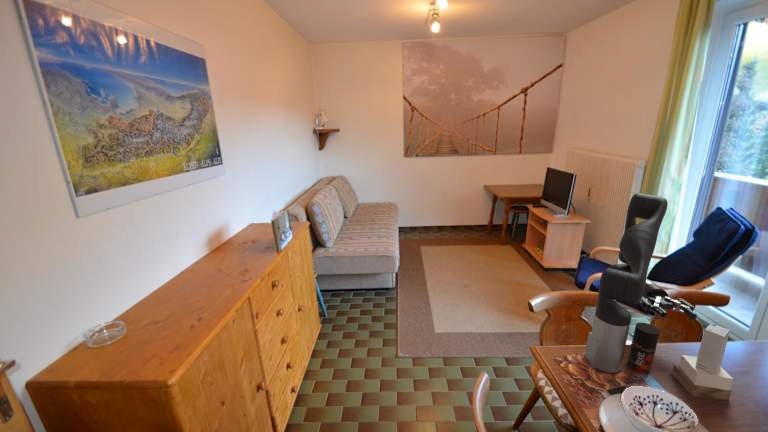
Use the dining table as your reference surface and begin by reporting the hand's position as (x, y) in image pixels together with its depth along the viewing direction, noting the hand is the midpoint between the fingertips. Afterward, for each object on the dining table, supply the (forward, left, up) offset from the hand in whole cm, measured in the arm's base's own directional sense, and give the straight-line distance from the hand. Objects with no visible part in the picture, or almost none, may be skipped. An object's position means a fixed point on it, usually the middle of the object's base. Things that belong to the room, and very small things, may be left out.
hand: (680, 316), depth 105 cm
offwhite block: (0, -13, -12) cm, 18 cm away
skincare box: (0, -13, -8) cm, 15 cm away
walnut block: (0, -13, -16) cm, 21 cm away
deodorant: (-13, -7, -16) cm, 22 cm away
